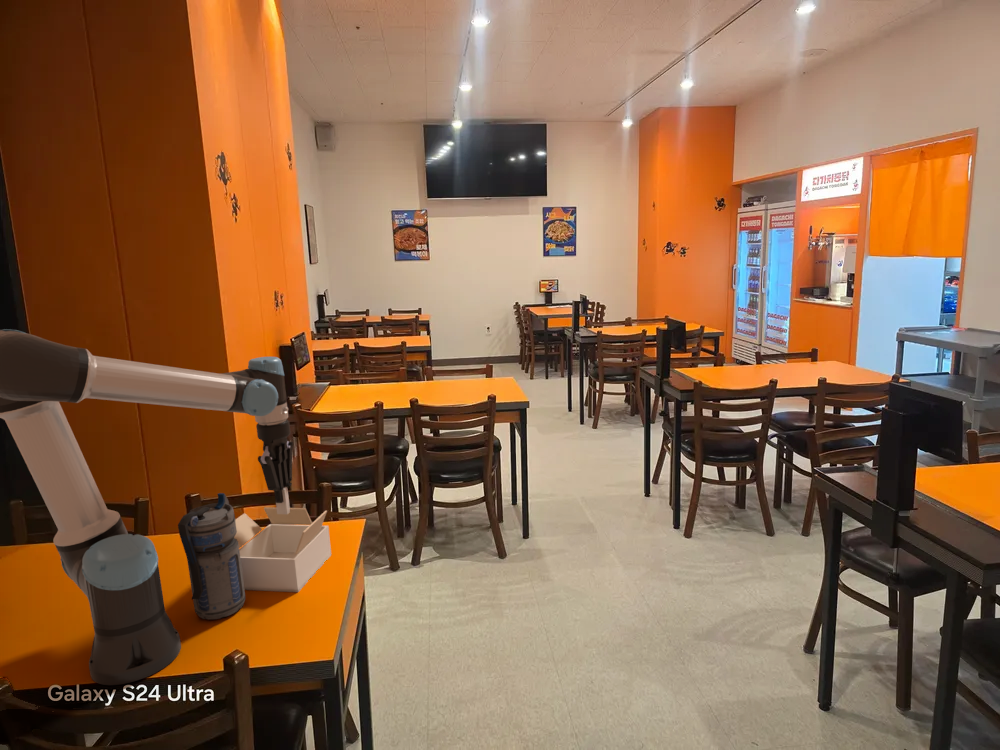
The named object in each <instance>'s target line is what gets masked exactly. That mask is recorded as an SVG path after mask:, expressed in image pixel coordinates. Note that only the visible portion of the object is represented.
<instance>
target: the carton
mask: <svg viewBox="0 0 1000 750" xmlns="http://www.w3.org/2000/svg"><path fill="white" fill-rule="evenodd" d="M235 522H236V530H237V533H236V535H235V537H234V538H235V539H237V541H238V545H239V552H240V560H241V567H242V575H243V583H244V590H245V591H246V590H247V591H262V592H263V591H265V592H286V593H299V592H300V591H301V590H302V588H304V587H305V586H306V584H307V583H308V582H309V581H310V580H311V579H310V578H312V577H313V576H315V575H316V573H317V572H318V571H319V570H320V568H321V567H322V566H323V565H324V564H325V563H326V562H327V561H326V560H328V559H330V558H331V556H332V548H331V547H332V546H331V540H330V539H331V538H330V527H329V525H322V526H321V529H320V532H319V533H318V534H317V535H316V536H315V537H314V538H313V539H312V540H311V541H310V542H309V543H308V544H307V545H306V546H305V547H304V548H303V549H302V550H301V551H300V552H299V553H298V554H295V552H296V550H297V547H298V544H299V541H300V539H301V536H302V533H303V531H304V530H305V529H306V528H307V527H309V526H310V525H298V524H272V523H270V524H268V525H267V526H266V527H264V529H262V528H261V526H260V525H258V523H256V521H254V520H253V519H252V518H251V517H249V515H248V514H246V513H245V512H244V513H242V514H241V515H240V516H238V517H237V518H235ZM325 561H326V562H325ZM324 562H325V563H324ZM318 569H319V570H318ZM317 570H318V571H317ZM316 571H317V572H316ZM309 579H310V580H309ZM308 580H309V581H308Z"/></svg>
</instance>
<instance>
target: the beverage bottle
mask: <svg viewBox="0 0 1000 750" xmlns="http://www.w3.org/2000/svg"><path fill="white" fill-rule="evenodd" d="M217 497H218V499H217V503H209V504H205V505H201V506H197V507H195V508H192V509H190V510H189V511H188V513H186V514H183V516H182V517H181V519H180V520H179V522H178V524H177V528H178V534H179V539H180V540H181V545H182V547H183V551H184V553H185V555H186V559H187V567H188V574H189V580H190V587H191V595H192V597H191V600H193V601H192V602H193V608H194V613H195V614H196V615H197V616H198V617H199V618H201V619H203V620H209V621H210V620H219V619H222V618H226V617H228V616H231V615H233V614H235V613H237V612H238V611H239V610H240V609H242V608H243V606H244V604H245V601H246V592H245V591H246V590H244V583H243V575H242V567H241V560H240V552H239V549H240V548H239V545H238V541H237V539H235V538H234V537H235V535H236V533H237V530H236V522H235V520H236V517H235V516H236V515H235V511H234V507H233V505H231V504H230V501H229V499H228V497H227V496H226V494H225V493H223V492H219V493H217Z"/></svg>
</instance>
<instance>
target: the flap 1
mask: <svg viewBox="0 0 1000 750" xmlns="http://www.w3.org/2000/svg"><path fill="white" fill-rule="evenodd" d="M263 510H264V512H265V514H266V515H267V517H268V519H269V521H270V524H281V525H311V524H312V523H313V521H312V519H311V517H310V515H309V513H308V510H307V508H306V507H290V513H289V514H277V508H276V507H274V506H273V507H266V506H264V508H263Z"/></svg>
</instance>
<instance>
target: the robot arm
mask: <svg viewBox="0 0 1000 750" xmlns="http://www.w3.org/2000/svg"><path fill="white" fill-rule="evenodd" d="M286 391H287V390H286V383H285V372H284V366H283V362H282V359H280V358H279V357H277V356H261V357H260V356H259V357H255V358H251V359H249V360H248V364H247V368H246V369H242V370H236V371H229V372H224V373H216V372H210V371H203V370H197V369H196V370H195V369H188V368H181V367H175V366H168V365H161V364H153V363H146V362H140V361H133V360H126V359H119V358H118V359H117V358H112V357H105V356H98V355H93V354H92V352H90V351H89V350H88V349H87V348H83V347H75V346H71V345H67V344H66V345H65V344H62V343H58V342H55V341H52V340H48V339H46V338H43V337H40V336H37V335H34V334H32V333H31V334H30V333H26V332H24V331H21V330H17V329H11V328H10V329H7V328H6V329H5V328H4V329H0V419H2V420H3V421H5V423H6V425H7V427H8V429H9V432H10V434H11V436H12V438H13V440H14V442H15V444H16V447H17V448H18V450H19V452H20V455H21V456H22V458H23V460H24V463H25V464H26V467H27V469H28V471H29V473H30V475H31V476H32V479H33V481H34V483H35V485H36V487H37V489H38V492H39V493H40V495H41V497H42V499H43V501H44V503H45V506H46V507H47V509H48V511H49V514H50V516H51V517H52V519H53V521H54V525H56V528H57V532H56V533H55V535H54V537H53V541H52V542H53V544H54V546H55V548H56V551H57V552H58V554H59V557H60V562H61V567H62V569H63V571H64V573H65V574H66V575H67V577H68V578H69V579H70V580H71V581H72V582H74V584H75V585H76V586H77V587H78V588H79V589H80V590H81V592H82V593H83V594H84V595H85V596H86V597H87V599H88V603H89V609H90V614H91V619H92V625H93V630H94V631H93V632H94V635H93V636H94V637H93V641H92V646H91V652H90V653H91V654H90V656H89V661H88V669H89V673H90V674H89V675H90V678H91V680H92V681H93V682H95V683H97V684H99V685H102V686H120V685H125V684H129V683H134V682H136V681H139V680H142V679H143V680H144V679H145V678H148V677H149V676H152V675H154V674H156V673H158V672H159V671H162V670H163V669H165V668H166V667H167V666H168V665H170V664H171V663H172V662H174V660H175V659H176V658H177V657H178V656H179V654H180V651H181V649H182V643H181V637H180V633H179V632H178V630H177V629H176V627H174V625H173V623H172V621H171V619H170V617H169V615H168V614H167V612H166V608H165V601H164V595H163V588H162V580H161V575H160V568H159V556H158V553H157V550H156V547H155V544H154V542H153V541H152V539H150V538H149V537H147V536H145V535H141V534H134V535H133V534H132V533H128V530H127V528H126V526H125V523H124V521H123V519H122V517H121V515H120V513H119V512H118V511H117V510H116V511H115V510H111V509H108V507H107V506H106V503H105V500H104V499H103V496H102V494H101V492H100V489H99V488H98V486H97V483H96V481H95V478H94V477H93V474H92V472H91V470H90V468H89V465H88V462H87V461H86V459H85V457H84V455H83V452H82V450H81V448H80V445H79V443H78V441H77V439H76V437H75V435H74V432H73V430H72V427H71V426H70V423H69V422H68V419H67V416H66V414H65V412H64V410H63V407H62V405H61V403H73V404H78V403H81V401H83V400H84V399H92V400H93V399H95V400H96V399H97V400H103V401H106V400H107V401H114V402H125V403H136V404H149V405H158V406H167V407H177V408H178V407H179V408H188V409H190V408H191V409H197V410H198V409H199V410H200V409H201V410H206V411H210V410H212V411H220V412H221V411H223V412H230V413H240V414H247V415H249V416H254V420H255V422H256V423H257V424H256V434H257V438H258V440H261V441H262V442H263V443H262V445H263V446H262V451H263V452H262V455H258V456H257V461H258V463H259V464H260V466H261V470H262V473H263V475H264V480H265V483H266V487H267V490H268V491H273V492H274V500H275V505H276V507H275V508H277V514H289V513H290V508H291V506H290V499H289V497H290V496H289V492H288V491H289V490H288V487H291V486H292V480H293V449H294V442H293V441H289V440H288V438H287V437H289V436H290V435H291V426H290V424H291V423H290V420H289V419H288V418H289V407H288V401H287V392H286ZM60 402H61V403H60Z"/></svg>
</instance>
